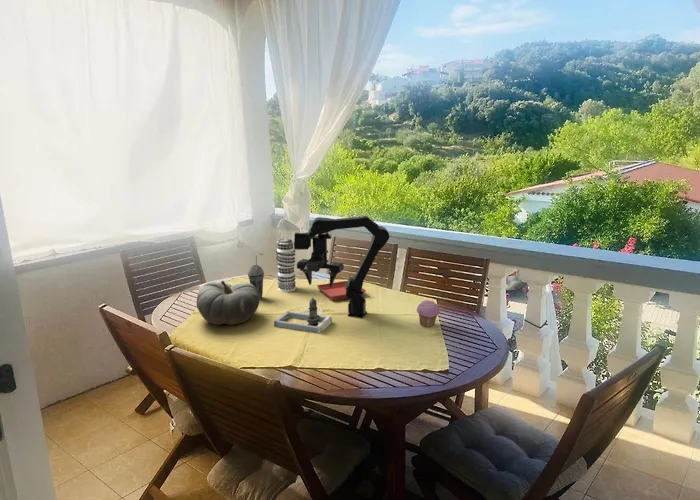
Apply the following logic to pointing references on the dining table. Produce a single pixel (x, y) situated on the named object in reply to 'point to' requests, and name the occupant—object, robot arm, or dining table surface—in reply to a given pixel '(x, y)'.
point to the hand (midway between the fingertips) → (320, 285)
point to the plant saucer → (335, 290)
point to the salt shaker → (313, 313)
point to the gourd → (227, 302)
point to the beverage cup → (256, 278)
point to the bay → (318, 329)
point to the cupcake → (428, 313)
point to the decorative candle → (285, 265)
